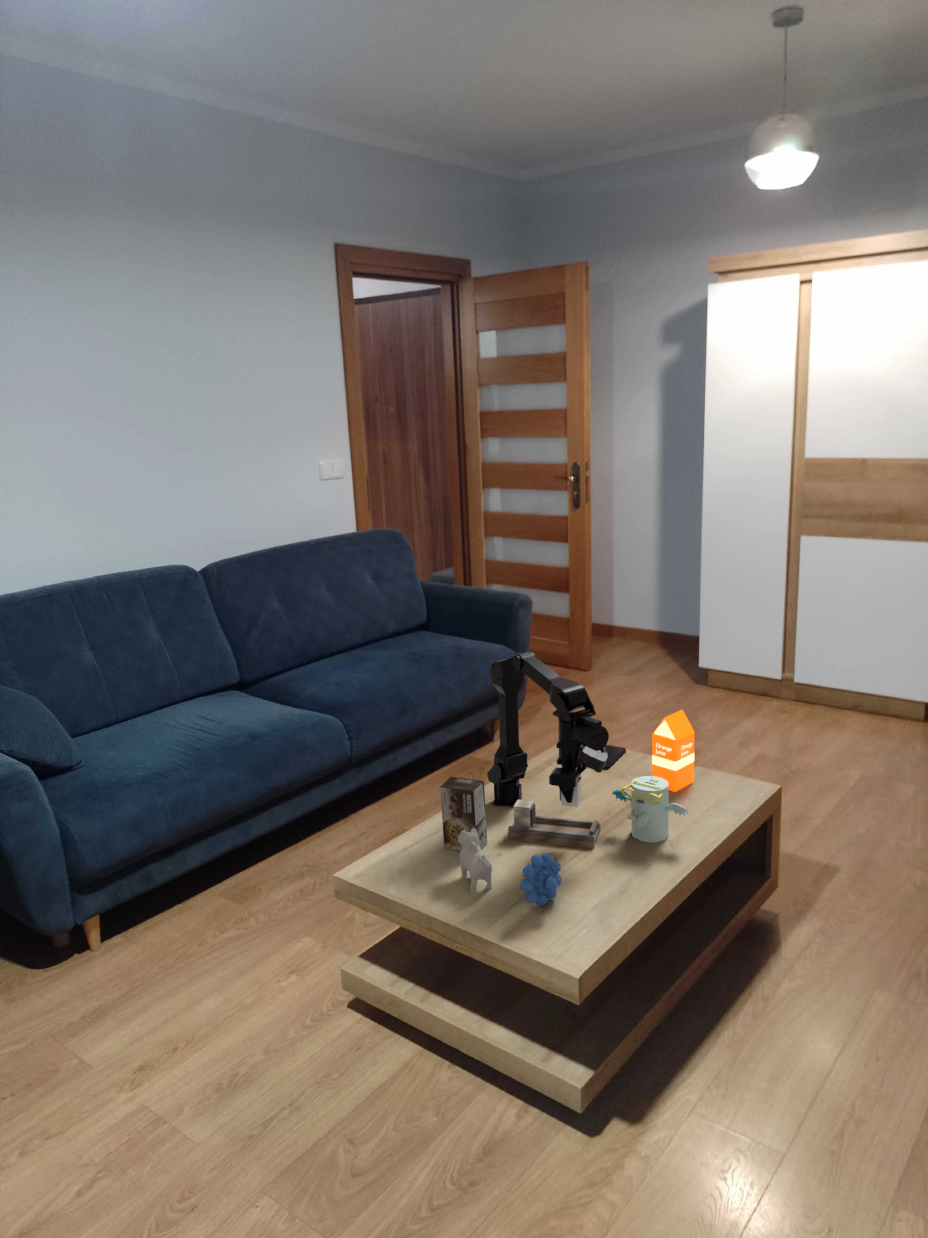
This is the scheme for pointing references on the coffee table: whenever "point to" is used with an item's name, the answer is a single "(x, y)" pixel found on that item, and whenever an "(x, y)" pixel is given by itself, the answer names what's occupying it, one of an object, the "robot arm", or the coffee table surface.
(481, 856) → the dog figurine
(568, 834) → the rail
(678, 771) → the orange juice
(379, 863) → the coffee table surface
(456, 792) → the coffee box
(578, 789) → the off-white square prism
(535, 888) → the grapes
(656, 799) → the character sculpture
